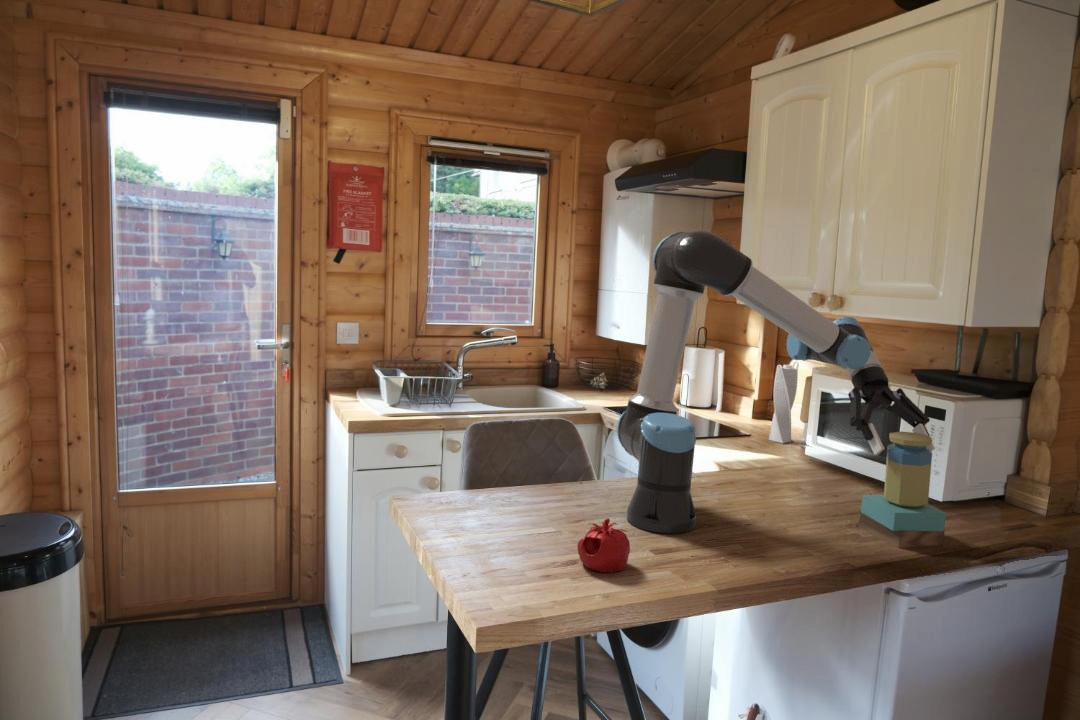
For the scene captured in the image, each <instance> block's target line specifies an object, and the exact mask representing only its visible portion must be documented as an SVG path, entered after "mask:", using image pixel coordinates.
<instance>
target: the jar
mask: <svg viewBox="0 0 1080 720" xmlns="http://www.w3.org/2000/svg"><path fill="white" fill-rule="evenodd" d="M888 435H889V436H888V437H889V440H890V442H891V443H890V444H888V445H887V447H886V448H887V450H886V464H885V473H884V476H885V477H884V488H883V489H884V491H883V495H884V497H885V500H887V501H888V502H890V503H893V504H895V505H898V506H902V507H911V508H915V507H920V506H924V505H926V504H929V499H930V498H929V495H930V486H931V485H930V484H931V471H932V462H933V461H932V460H933V453H932V452H933V451H931V450H930V449H929V448H928V447H926V446H927V445H932V443H933V439H932V437H931V436H927V435H923V434H919V433H913V431H912V432H911V431H895V432H889V434H888Z"/></svg>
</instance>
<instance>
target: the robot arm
mask: <svg viewBox="0 0 1080 720" xmlns="http://www.w3.org/2000/svg"><path fill="white" fill-rule="evenodd" d="M652 262H653V264H652V265H653V268H654V271H655V276H654V281H653V287H654V289H655V290H656V292H657V298H656V302H655V303H656V304H655V308H654V312H653V316H652V320H651V321H652V322H651V326H650V331H649V335H648V340H647V345H646V348H645V349H646V350H645V353H644V358H643V364H642V366H641V367H642V368H641V370H640V371H641V372H640V375H639V376H640V377H639V381H638V385H637V386H638V387H637V390H636V393H635V394H634V395H632V396H630V397H629V398H628V402H627V407H626V410H625V411H623V412H622V414H621V415H620V416H619V418H618V420H617V424H616V435H617V439H618V441H619V443H620V445H621V446H622V448H623V449H624V451H625V452H627V454H629V455H630V456H632V457H633V458H635V459H636V460H637V461H638V470H637V472H638V473H637V484H636V487H635V489H634V492H633V494H632V497H631V499H630V501H629V504H628V506H627V510H626V520H627V522H628V523H630V525H633V526H634V527H636V528H639V529H640V530H641V529H642V530H645V531H649V532H653V533H661V534H682V533H683V534H684V533H687V532H692V531H693V530H694V529H695V528H696V524H697V513H696V510H695V505H694V501H693V497H692V493H691V491H692V489H691V487H692V479H693V478H692V477H693V466H694V459H695V458H694V456H695V448H696V447H695V445H696V441H697V438H696V427H695V425H694V423H693V422H692V421H691V420H690V419H688V418H686V417H684V416H679V415H678V414H677V413H678V408H677V405H675V403H674V395H675V392H676V388H677V383H678V379H679V375H680V370H681V365H682V360H683V356H684V352H685V351H684V350H685V347H686V344H687V343H686V342H687V338H688V334H689V329H690V325H691V321H692V315H693V311H694V306H695V302H696V301H697V300H698V299H699V298H701V297H702V296H703V295H704V292H705V288H706V287H708V288H710V289H712V290H714V291H716V292H718V293H720V295H722V296H724V297H728V296H732V297H733V298H735V299H737V300H739V301H740V302H741V303H743V304H745V305H746V306H747V307H749V309H752V310H754V311H755V312H756V313H757V314H759V315H760V316H762V317H763V318H765V319H767V320H768V321H769V322H771V323H773V324H774V325H775V326H777V327H778V328H780V329H782V330H783V331H785V332H786V333H788V335H787V339H786V349H787V354H788V355H789V357H790V358H791V359H793V360H795V361H808V360H809V361H816V362H820V363H823V364H829V365H833V366H836V367H840V368H842V369H845V370H846V373H847V375H848V378H849V379H850V380H851V384H852V386H853V388H852V389H851V390H850V391H849V392H848V393H847V395H848V398H849V401H850V402H849V403H850V404H849V426H851V427H855V430H856V431H858V432H860V431H861V434H862V435H863V437H864V439H865V440H866V441H867V442H868V444H869V446H870V448H871V450H872V452H873V455H874V456H878V455H879V454H880V453H882V452H883V451H884V450H886V449H885V446H884V445H883V443H882V441H881V438H880V436H879V434H878V432H877V430H876V428H875V425H874V424H873V423H872V422H871V423H869V422H870V419H871V416H872V414H873V411H874V410H878V409H881V410H887V411H888V412H892V413H894V415H896V416H898V417H899V418H900V419H902V420H903V421H904V422H906V424H908V425H910V426H911V427H912V432H913V433H919V434H923V435H927V436H930V433H929V431H928V429H927V427H926V426H925V425H927V424H928V423H929V422H930V421H931V420H930V418H929V417H928V416H927V415H926V414H925V413H924V412H923V411H922V409H920V408H919V407H918V406H917V405H916V404H915V403H914V402H913V401H912V400H911V399H910V398H909V397H908V396H907V395H906V393H905V391H904V390H903V389H902V388H897V389H896V390H892V389H891V388H890V386H889V378H888V375H886V373H885V370H884V369H883V368H882V364H881V362H880V360H879V359H878V357H877V355H876V352H874V349H873V347H872V345H871V343H870V342H869V339H868V337H867V335H866V333H865V330H864V328H863V327H862V326H861V324H860V323H859V321H858V320H857V319H856V318H855V317H854V316H842V317H841V318H836V319H835V320H833V321H832V320H831V319H830V318H827V317H826V316H825V315H823V314H822V313H820V312H819V311H818V310H817V309H815V308H813V307H812V306H811V305H809V304H808V303H806V302H804V301H803V300H802V299H800V298H799V297H797V296H796V295H795V294H793V293H791V292H790V291H789V290H787V289H786V288H785V287H783V286H781V285H780V284H779V283H777V282H776V281H774V280H773V279H771V278H770V277H769V276H768V275H766V274H765V273H763V272H761V271H760V270H758V268H756V267H754V265H753V260H752V258H750V256H747V255H746V254H744V253H743V252H741V251H740V250H738V249H737V248H736V247H734V246H733V245H732V244H730V243H729V242H727V241H726V240H725V239H723V238H722V237H720V236H718V235H717V234H715V233H713V232H709V231H706V230H695V231H678V232H674V233H671V234H669V235H668V236H666V237H664V238H663V239H662V240H661V241H660V242H658V244H657V245H656V248H654V252H653V257H652ZM862 400H863V401H864V405H863V407H862ZM862 409H863V410H862ZM930 437H931V436H930ZM926 447H928V448H929V449H930V450H931V452H933V451H934V450H935V449H936V447H935V446H934V443H933V442H932V445H927V446H926Z"/></svg>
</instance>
